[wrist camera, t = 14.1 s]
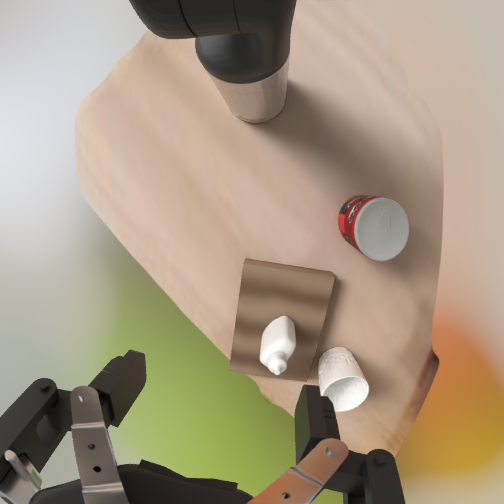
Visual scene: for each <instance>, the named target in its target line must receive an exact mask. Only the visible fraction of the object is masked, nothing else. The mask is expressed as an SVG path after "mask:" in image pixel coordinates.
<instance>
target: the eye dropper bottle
mask: <svg viewBox="0 0 504 504" xmlns="http://www.w3.org/2000/svg"><path fill="white" fill-rule="evenodd" d="M295 347H296V336H295V327H294V322H293V321H292V320H291V319H290V318H289V317H287V316H281V317H279V318H277V319H275V320H274V321H272V322H271V323H270V324H269V325H268V326H267V327H266V329H265V330H264V332H263V335H262V341H261V350H260V361H261V363H263V364H264V365H265V366H267V367H268V369H269V370H270V371H271V372H273V373H275V374H276V375H279V374H280V373H282V372H284V371H285V370H286V368H287V360H288V359H289V358H290V356H291V355H292V354H293V352H294V350H295Z"/></svg>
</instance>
